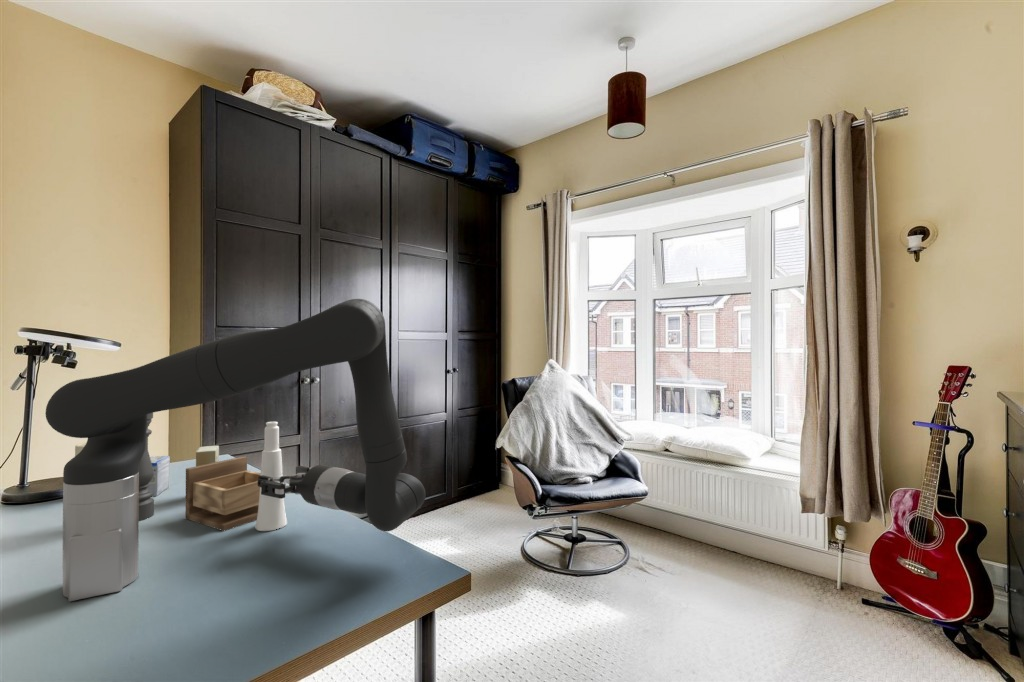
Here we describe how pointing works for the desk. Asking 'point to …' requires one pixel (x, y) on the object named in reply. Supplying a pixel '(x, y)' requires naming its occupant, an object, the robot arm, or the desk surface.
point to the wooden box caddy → (222, 494)
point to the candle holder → (146, 480)
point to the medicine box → (159, 474)
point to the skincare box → (207, 455)
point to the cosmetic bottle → (271, 465)
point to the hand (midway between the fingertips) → (279, 475)
